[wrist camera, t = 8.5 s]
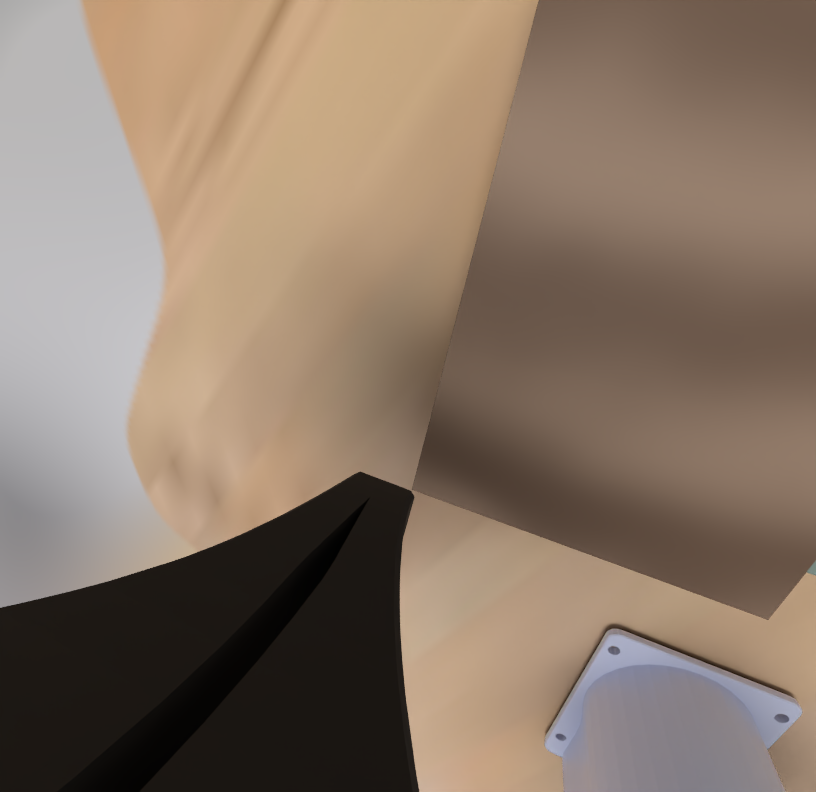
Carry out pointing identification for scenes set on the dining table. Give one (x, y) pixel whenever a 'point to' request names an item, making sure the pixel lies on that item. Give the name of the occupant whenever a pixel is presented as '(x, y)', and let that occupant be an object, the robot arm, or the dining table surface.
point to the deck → (648, 299)
